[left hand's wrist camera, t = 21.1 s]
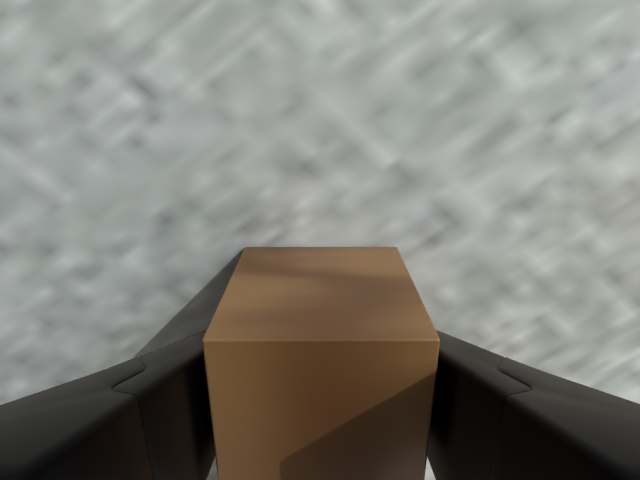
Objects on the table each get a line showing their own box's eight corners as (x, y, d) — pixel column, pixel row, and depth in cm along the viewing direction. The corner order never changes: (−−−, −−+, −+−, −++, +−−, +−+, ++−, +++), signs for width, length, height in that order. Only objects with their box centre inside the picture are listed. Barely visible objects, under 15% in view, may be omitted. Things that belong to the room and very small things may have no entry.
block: (253, 376, 13) (221, 514, 9) (244, 246, 12) (200, 339, 7) (388, 375, 13) (421, 514, 9) (396, 246, 12) (441, 339, 7)
